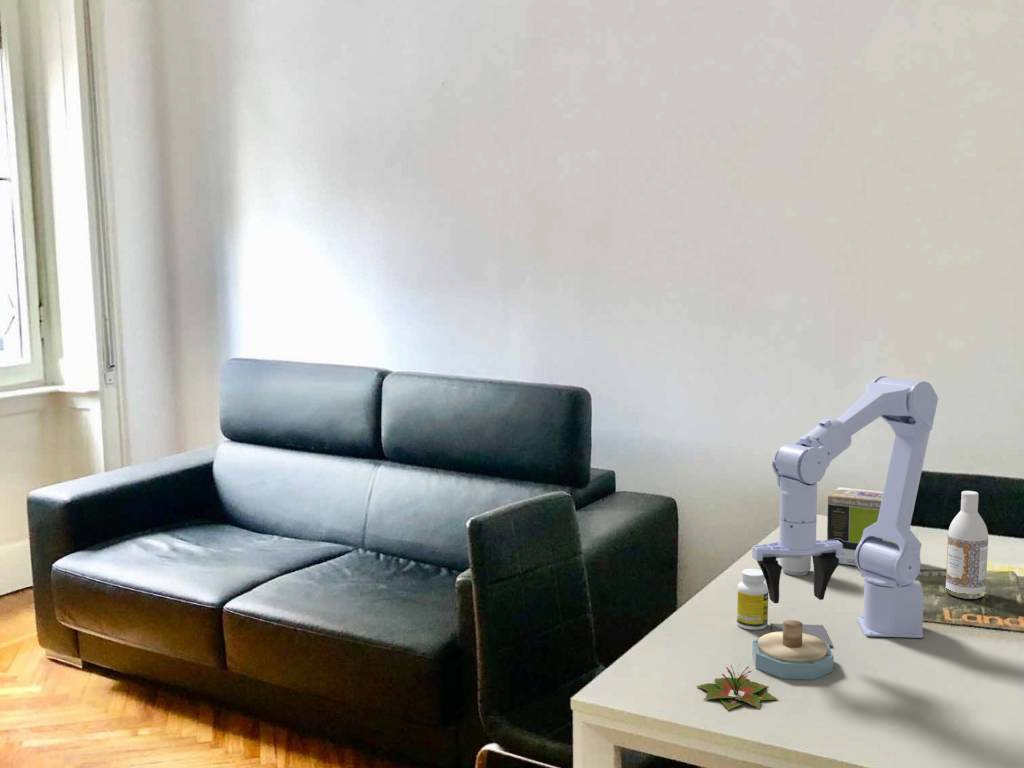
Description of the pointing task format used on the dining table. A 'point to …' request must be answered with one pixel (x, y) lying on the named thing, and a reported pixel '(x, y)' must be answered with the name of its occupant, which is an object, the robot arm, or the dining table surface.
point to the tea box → (851, 518)
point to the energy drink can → (796, 565)
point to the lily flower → (727, 684)
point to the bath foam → (967, 548)
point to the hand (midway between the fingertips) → (796, 599)
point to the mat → (807, 631)
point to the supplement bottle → (752, 600)
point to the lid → (792, 644)
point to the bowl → (792, 665)
